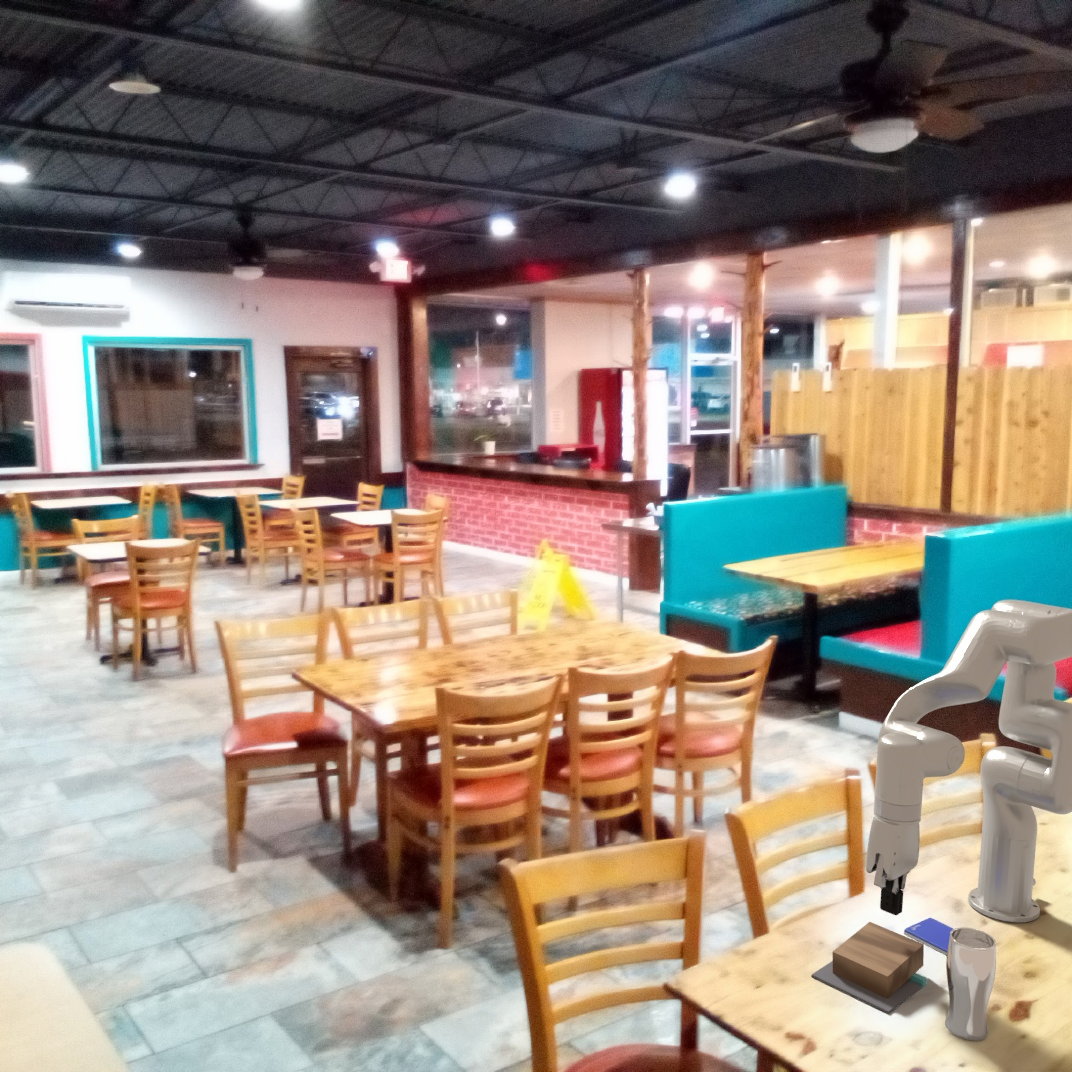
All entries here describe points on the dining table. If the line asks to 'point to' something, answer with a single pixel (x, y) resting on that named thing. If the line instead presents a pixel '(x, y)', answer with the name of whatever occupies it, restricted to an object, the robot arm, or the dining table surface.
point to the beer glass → (969, 982)
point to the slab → (878, 959)
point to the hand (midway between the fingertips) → (890, 910)
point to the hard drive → (931, 934)
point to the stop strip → (918, 979)
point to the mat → (864, 994)
